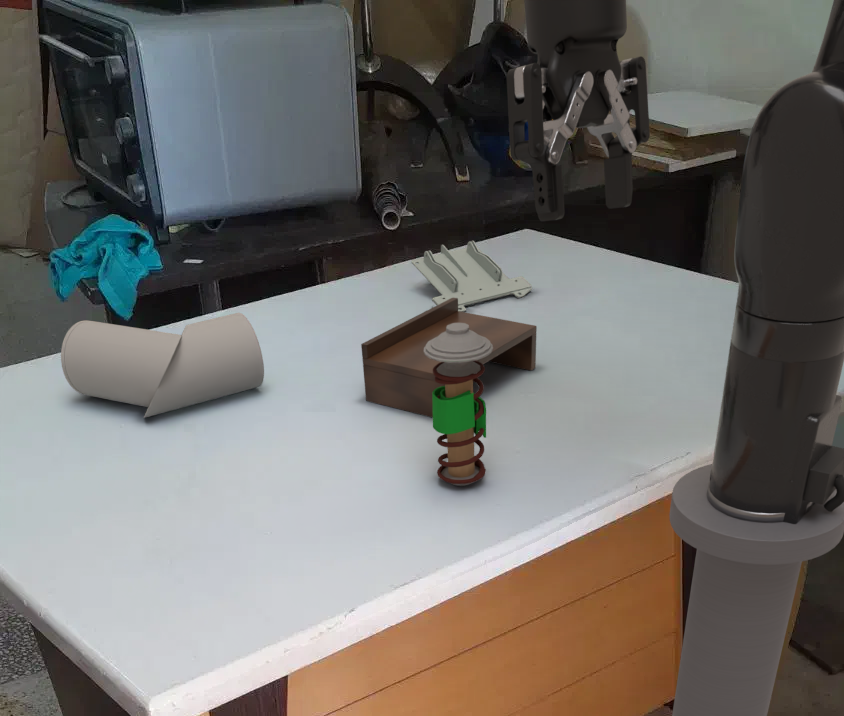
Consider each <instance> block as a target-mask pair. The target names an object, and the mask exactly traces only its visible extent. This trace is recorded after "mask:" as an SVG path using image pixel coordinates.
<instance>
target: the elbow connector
mask: <svg viewBox="0 0 844 716" xmlns="http://www.w3.org/2000/svg"><path fill="white" fill-rule="evenodd" d="M60 363H61V369H62V373H63V375H64V377H65V379H66V381H67V383H68V385H69V386H70V387H71V388H72V389H73V391H75V392H76V393H79V394H80V395H84V396H88V397H93V398H99V399H104V400H109V401H114V402H119V403H124V404H130V405H135V406H140V407H144V408H145V407H146V408H147V409H146V410H145V414H144V416H143V419H145V418H149V417H154V416H156V415H160V414H164V413H168V412H171V411H175V410H179V409H183V408H187V407H190V406H194V405H197V404H202V403H205V402H208V401H212V400H215V399H219V398H224V397H226V396H230V395H234V394H238V393H241V392H245V391H249V390H254V389H256V388H260V387H261V386H262V385H263V383H264V378H265V366H264V358H263V353H262V349H261V345H260V342H259V339H258V336H257V334H256V331H255V329H254V327H253V326H252V324H251V322H250V320H249V319H248V317H247V316H245V314H243V313H242V312H235V313H231V314H227V315H222V316H218V317H214V318H210V319H206V320H201V321H196V322H192V323H189V324H185V326H184V328H183V331H182V332H181V334H178V333H173V332H165V331H160V330H159V331H158V330H153V329H147V328H139V327H134V326H133V327H132V326H127V325H120V324H113V323H107V322H102V321H101V322H100V321H94V320H80V321H78V322H76V323H74V324H73V325H72V326H70V328H69V329H68V330H67V332H66V334H65V335H64V338H63V341H62V343H61V350H60Z"/></svg>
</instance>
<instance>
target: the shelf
mask: <svg viewBox="0 0 844 716" xmlns="http://www.w3.org/2000/svg"><path fill="white" fill-rule="evenodd" d="M452 323H466V324H468V325H469V330H471V331H474V332H475V333H476V334H478V335H480V336H483V337H486V338H487V339H488V340H489V341H490V343H491V344H492V345H493V350H492V352H491V354H489V355H488V356H486V357H484V358H482V359H479V360H475V361H479V362H480V363H482V364H483V365H484V364H486V363H488V362H489V363H492V364H493V363H494V364H497V365H498V364H499V365H503V366H508V367H512V368H516V369H517V368H518V369H521V370H526V371H533V370H535V369H536V366H537V365H536V362H537V358H536V357H537V325H535V324H529V323H524V322H519V321H514V320H513V321H512V320H507V319H503V318H497V317H492V316H487V315H481V314H475V313H472V312H471V313H470V312H466V311H465V312H460V311H458V298H451V299H449V300H447V301H445V302H443V303H441V304H439V305H435V306H433V307H431V308H429V309H427V310H425V311H423V312H422V313H421V312H420V313H419V314H417V315H415V316H413V317H411V318H409V319H408V320H406V321H404V322H402V323H400V324H398V325H396V326H394V327H392V328H389V329H387V330H386V331H384V332H382V333H380V334H378V335H375V336H374V337H372V338H370V339H368V340H366V341H365V342H363V343H361V344H360V346H361V357H362V369H363V380H364V393H365V401H366V402H369V403H373V404H378V405H381V406H385V407H390V408H393V409H397V410H402V411H406V412H409V413H414V414H417V415H422V416H425V417H429V418H433V403H432V392H433V391H434V389H436V388H438V387H441V386H445V385H444V384H439V383H437V382H436V381H435V380H434V378H435V375H434V374H433V368H434V367H435V366H436V365H437V364H438V363H441V362H439V361H436V360H433V359H429V358H428V357H427V356H426V355H425V354H424V352H423V351H424V347H425V346H426V344H427V343H428V341H430V340H432V339H434V338H435V337H438V336H439V335H440V334H441V333H443V332H445V331H446V327H447V325H450V324H452ZM437 372H438V371H437Z"/></svg>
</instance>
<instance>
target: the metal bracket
mask: <svg viewBox="0 0 844 716" xmlns="http://www.w3.org/2000/svg"><path fill="white" fill-rule="evenodd" d="M411 264H412V265H413V266H414V268H416V270H418V272H420V274H421V275H422V276H423V277H424V278H425V279H426V280H427V281H428V282H429V283H430V284H431V285H432V287H434V289H435V290H436V291H437V292H438V293H439V294H440V295H439V296H434V297H432V299H431V301H432V303H433V304H434V305H435V306H437V305H439V304H441V303H443V302H445V301H447V300H449V299H451V298H458V311H460V312H466V311H467V308H466V307H465V306H469V305H474V304H478V303H481V302H486V301H489V300H494V299H497V298H502V297H506V296H509V295H514V296H515V297H516V298H518V299H522V298H524V297H525V296H527V294H528V293H530V292H531V291H532V290H533V285H532V284H531V283H530V282H529V281H528V280H527V279H526V278H525V277H524V276H516V277H512V278H510V277H508V276H507V275H506V274H505V273H504V272H503V269H502V267H501V266H500V265H499V264H498V263H497V262H496V261H495V260H494V259H493V258H492V257H491V256H490V255H489V254H486V253H484V252H483V251H482V250H481V249H480V248H479V247H478V245H477V244H476V242H475V241H474V240H471V241H470V240H469V241H468V242H467V245H466V247H465V248H464V247H463V248H459V249H456V250H451V251H449V250H448V248H447V247H446V246H445V244H440V253H438V254H433V252H432V251H431V250H425V251H424V252H423V257H420V258H416V259H412V260H411Z"/></svg>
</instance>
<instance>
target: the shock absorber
mask: <svg viewBox="0 0 844 716" xmlns="http://www.w3.org/2000/svg"><path fill="white" fill-rule="evenodd" d="M492 350H493V345H492V344H491V343H490V341H489V340H488V339H487V338H486V337H483V336H480V335H478V334H476V333H475V332H474V331H471V330H469V325H468V324H466V323H452V324H450V325H447V327H446V331H445V332H443V333H441V334H440V335H439V336H438V337H435V338H434V339H432V340H430V341H428V343H427V344H426V346H425V347H424V351H423V352H424V354H425V355H426V356H427V357H428V358H429V359H433V360H436V361H439V362H441V363H438V364H437V365H436V366H435V367H434V368H433V374H434V375H435V378H434V380H435V381H436V382H437V383H439V384H444V385H445V386H441V387H438V388H436V389H434V391H433V392H432V403H433V417H432V428H433V430H435V431H436V432H437V433H439V434H441V435H439V436H438V437H437V439H436V442H437V444H438V445H439V446H440V447H444V448H446V449H447V452H446V453H443V454H441V455H440V456H439V457H437V462H438V464H439V465H440V466H439V467H438V469H437V470H436V474H437V477H438V478H439V479H440V480H442V481H443V482H445V483H447V484H451V485H452V486H458V487H465V486H469V485H471V484H474V483H476V482H477V481H480V480H482V479H483V478H484V477H485V476H486V473H487V472H486V471H487V469H486V467H485V464H484V462H483V461H482V460H481V458H482V457H483V455H484V453H485V445H484V443H483V442H482V440H481V439H480V438H482V437H483V438H484V439H486V438H487V406H486V401H485V400H484V399H483V398H482V397H481V396H482V394H483V393H484V389H485V387H484V382H483V381H482V380H481V379H480V377H481V376H482V375H484V373H485V371H486V367H485V365H484V364H482V363H480V362H479V361H475V360H479V359H482V358H484V357H486V356H488V355H489V354H491V352H492ZM437 371H438V372H437ZM474 383H475V384H476V385H477V386H478V389H477V391H476V392H474ZM444 440H446V441H444ZM475 444H476V445H477V446H478V448H479V450H478V452H477V454H475ZM446 459H447V461H445V460H446Z"/></svg>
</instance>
